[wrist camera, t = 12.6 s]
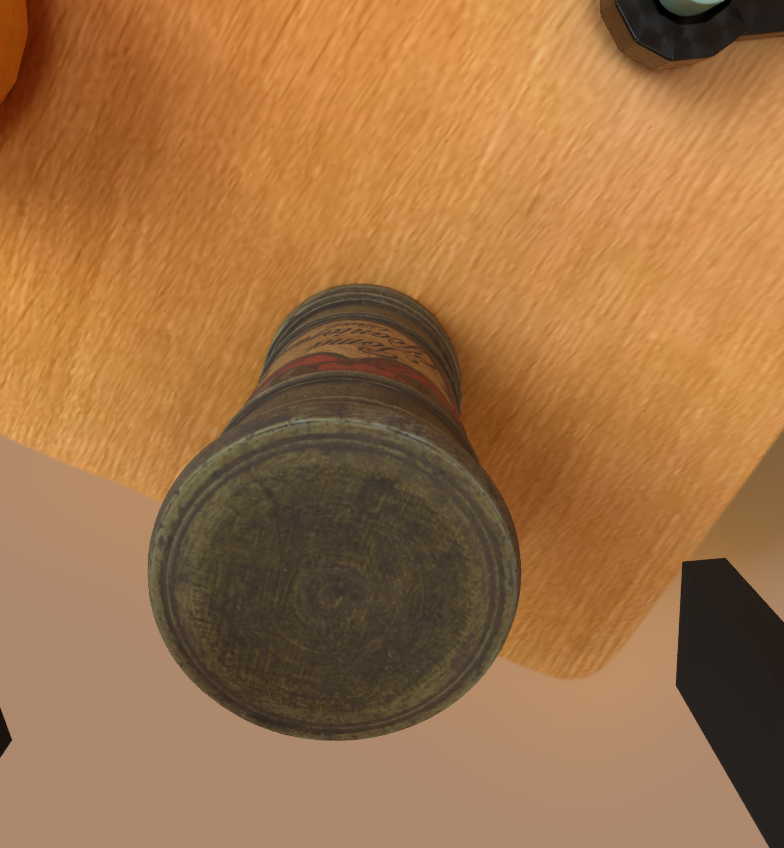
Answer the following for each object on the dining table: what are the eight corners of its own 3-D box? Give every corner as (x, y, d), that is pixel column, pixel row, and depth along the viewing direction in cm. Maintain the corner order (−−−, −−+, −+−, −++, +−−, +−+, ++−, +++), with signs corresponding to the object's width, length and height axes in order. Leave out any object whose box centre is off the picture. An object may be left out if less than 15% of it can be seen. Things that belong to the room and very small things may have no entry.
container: (463, 459, 33) (544, 745, 16) (281, 473, 33) (170, 770, 16) (454, 274, 30) (541, 382, 13) (254, 290, 30) (85, 417, 13)
